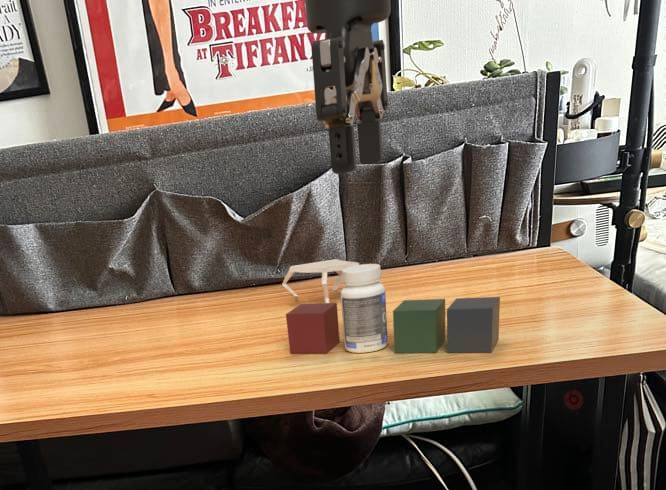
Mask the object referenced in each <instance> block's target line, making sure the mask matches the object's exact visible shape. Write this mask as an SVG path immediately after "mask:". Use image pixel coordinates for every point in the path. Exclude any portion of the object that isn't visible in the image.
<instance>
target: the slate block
mask: <svg viewBox="0 0 666 490" xmlns="http://www.w3.org/2000/svg"><path fill="white" fill-rule="evenodd" d="M500 306H501V297H500V296H488V297H460V298H459V297H458V298H455V299H454V300H453V302H451V304H450V305H449V306H448V308H446V353H447V354H454V353H455V354H465V353H466V354H467V353H468V354H470V353H471V354H480V353H481V354H483V353H484V354H485V353H486V354H487V353H488V354H489V353H492V352H493V350H494V349H495V347H496V345H497V344H498V342H499V338H500V309H501V307H500Z"/></svg>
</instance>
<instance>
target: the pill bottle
mask: <svg viewBox="0 0 666 490" xmlns="http://www.w3.org/2000/svg"><path fill="white" fill-rule="evenodd" d="M342 275H343V280H342V285H344V287H343V288H342V289H341V290H340V291H341V294H339V295H340V304H341V317H342V329H343V330H342V332H343V344H344V349H345V350H346V351H347V352H350V353H353V354H364V353H371V352H372V353H373V352H376V351H381V350H382V349H384V348H386V347H387V345H388V343H389V341H388V339H389V338H388V322H387V321H388V318H387V299H386V288H385V285H384V284H383V283H381V282H380V281H381V280H382V270H381V265H380V264H378V263H364V264H359V265H356V266H352V267H348V268H345V269H343V271H342Z"/></svg>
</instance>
